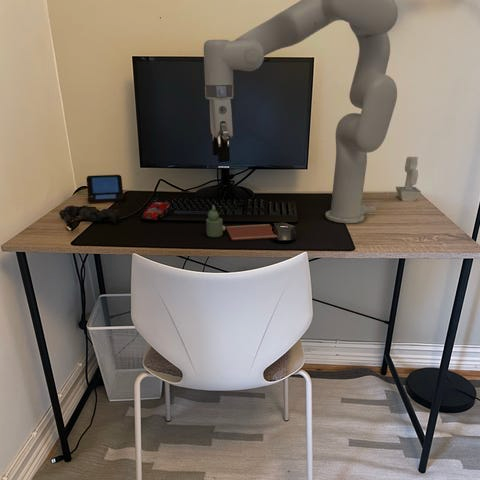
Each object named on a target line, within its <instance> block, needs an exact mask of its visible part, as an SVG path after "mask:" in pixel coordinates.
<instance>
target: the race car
mask: <svg viewBox="0 0 480 480" xmlns="http://www.w3.org/2000/svg"><path fill="white" fill-rule="evenodd" d="M169 205H171V203H170V202H165V201H155V202H153V203H152V204H151V205H149V207H148V206H147V207H146V210H145V211H144V212H143V213H142V217H143V219H144V220H146V221H160V220H161V218H163V217H164V216H166V215H169V214H170V213H171V211H168V212H166V213H165V214H163V213H164V212H165V210H166V209H167V208H168V207H169ZM162 214H163V215H162ZM161 215H162V216H161Z"/></svg>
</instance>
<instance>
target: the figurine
mask: <svg viewBox="0 0 480 480" xmlns="http://www.w3.org/2000/svg"><path fill="white" fill-rule="evenodd" d="M418 159H419V157H417V156H406V159H405V165H404V172H405V173H406V177H405V183H404V186H395V190H396V193H397V195H398V196H397V197H398V198H399V199H400V200H401V201H402V202H414V201H416V199H417V198H418V197H419V196H420V194H421V193H422V191H421V190H420V189H419V188H417V187H416V186H415V185H417V183H418V182H417V181H418V177H419V170H418V169H417V167H418Z"/></svg>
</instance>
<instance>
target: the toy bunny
mask: <svg viewBox="0 0 480 480" xmlns="http://www.w3.org/2000/svg"><path fill="white" fill-rule="evenodd" d="M206 216H207V218H206V219H205V228H206V229H205V231H206V236H207V237H210V238H220V237H222V236H223V235H224V231H226V230H227V229H226V227H225V225H223V223H224V222H223V221H224V220H223V218H222V217H219V216H220V214H219V212H218V211H217V210H216V206H215V204H212V205H211V210H209V211H208V212H207V214H206Z"/></svg>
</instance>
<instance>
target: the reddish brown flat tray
mask: <svg viewBox="0 0 480 480" xmlns="http://www.w3.org/2000/svg"><path fill="white" fill-rule="evenodd" d="M224 226H225V225H224ZM225 227H226V229H225V230H226V231H227V234H228V235H229V237H230V239H231V241H245V240H246V241H247V240H265V239H280V236H279V235H278V234H277V235H278V236H277V235H275V234H274V233H273V231H272V228H273V227H272V225H271V223H266V224H265V223H263V224H244V225H242V224H241V225H226V226H225Z"/></svg>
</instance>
